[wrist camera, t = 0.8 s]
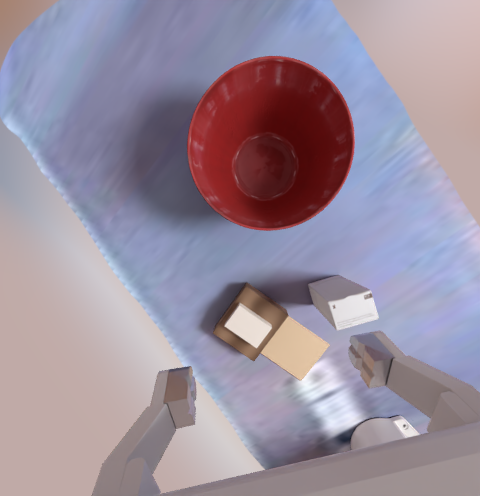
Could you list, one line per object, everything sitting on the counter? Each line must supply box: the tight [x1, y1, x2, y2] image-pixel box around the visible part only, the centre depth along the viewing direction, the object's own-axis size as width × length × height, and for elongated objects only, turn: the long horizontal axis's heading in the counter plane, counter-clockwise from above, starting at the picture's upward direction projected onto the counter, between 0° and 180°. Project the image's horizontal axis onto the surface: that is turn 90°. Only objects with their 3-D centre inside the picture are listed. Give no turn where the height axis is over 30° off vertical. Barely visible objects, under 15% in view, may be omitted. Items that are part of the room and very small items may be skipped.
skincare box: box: [308, 275, 379, 330], centre depth 48 cm, size 8×6×15 cm
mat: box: [261, 316, 330, 380], centre depth 57 cm, size 14×12×1 cm
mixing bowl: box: [187, 56, 355, 231], centre depth 46 cm, size 28×28×15 cm
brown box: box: [213, 282, 288, 361], centre depth 55 cm, size 12×14×4 cm
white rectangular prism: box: [225, 303, 272, 348], centre depth 52 cm, size 9×6×2 cm, turn 55°
